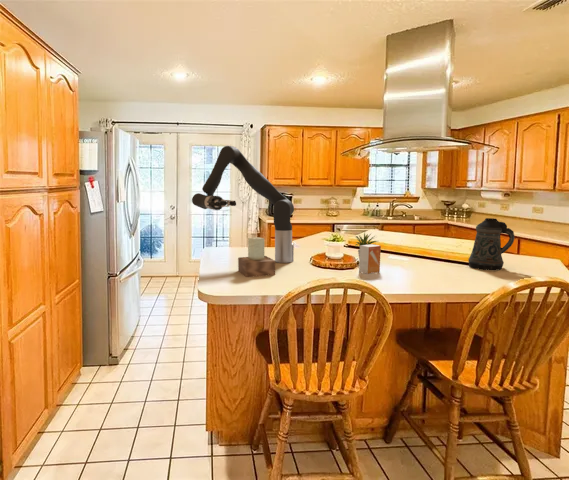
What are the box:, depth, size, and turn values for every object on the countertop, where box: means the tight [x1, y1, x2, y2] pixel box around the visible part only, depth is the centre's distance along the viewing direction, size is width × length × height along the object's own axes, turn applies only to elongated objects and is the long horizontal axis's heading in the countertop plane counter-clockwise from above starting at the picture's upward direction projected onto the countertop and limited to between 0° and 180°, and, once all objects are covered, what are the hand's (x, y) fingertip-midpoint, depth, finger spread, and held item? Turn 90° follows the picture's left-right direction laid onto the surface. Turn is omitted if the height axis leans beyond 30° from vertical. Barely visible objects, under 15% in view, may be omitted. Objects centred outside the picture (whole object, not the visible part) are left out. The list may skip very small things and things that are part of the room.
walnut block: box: [237, 255, 276, 278], centre depth 216 cm, size 14×14×7 cm
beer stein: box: [467, 217, 516, 271], centre depth 229 cm, size 16×19×25 cm
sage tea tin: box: [247, 236, 265, 260], centre depth 214 cm, size 6×6×10 cm
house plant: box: [354, 232, 378, 259], centre depth 242 cm, size 14×14×16 cm
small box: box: [358, 243, 382, 275], centre depth 218 cm, size 8×6×13 cm
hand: (227, 204), depth 228 cm, fingers open, 8 cm apart
